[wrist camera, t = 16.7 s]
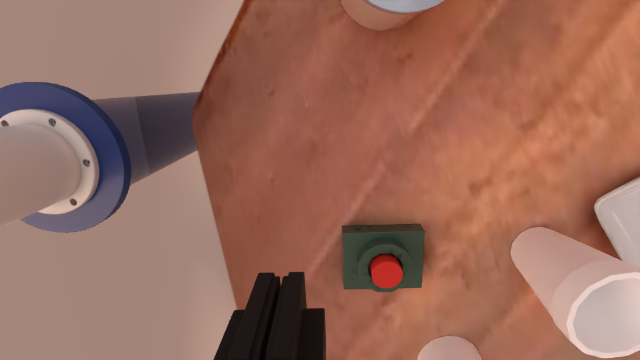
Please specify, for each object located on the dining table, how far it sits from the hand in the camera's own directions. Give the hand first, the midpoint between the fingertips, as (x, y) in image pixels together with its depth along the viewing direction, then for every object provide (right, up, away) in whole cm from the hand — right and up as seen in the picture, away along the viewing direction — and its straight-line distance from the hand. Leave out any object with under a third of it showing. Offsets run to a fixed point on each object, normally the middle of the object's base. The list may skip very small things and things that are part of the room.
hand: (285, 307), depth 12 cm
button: (+9, -6, +28) cm, 30 cm away
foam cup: (+29, -4, +31) cm, 43 cm away
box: (+9, -5, +32) cm, 33 cm away
